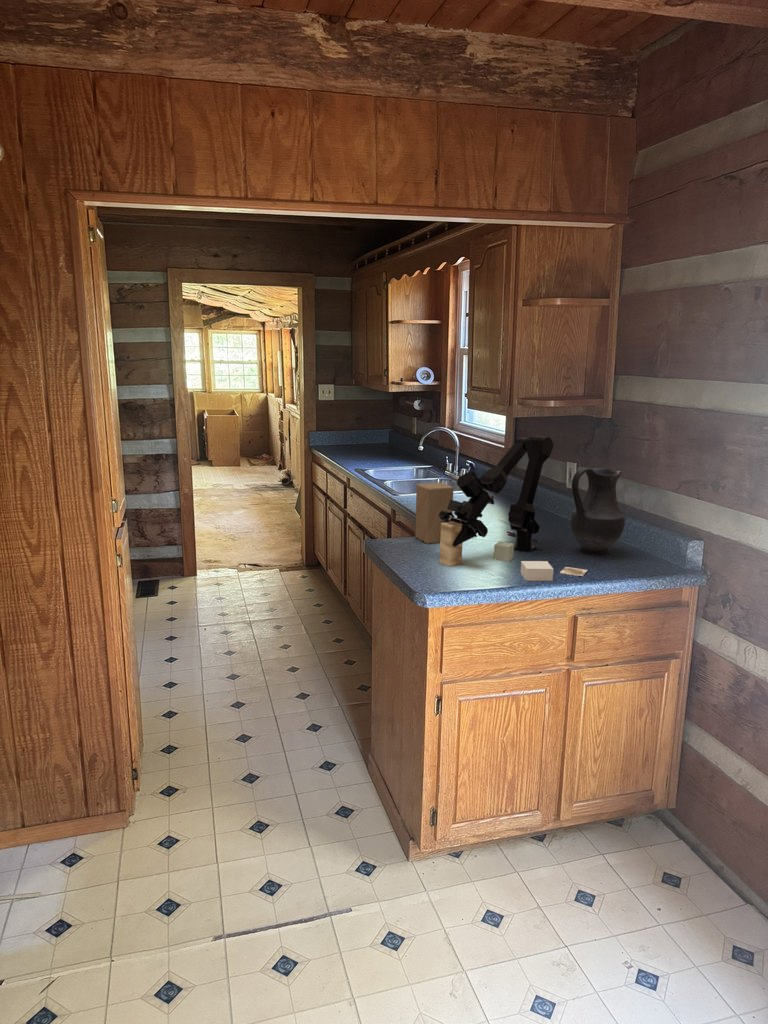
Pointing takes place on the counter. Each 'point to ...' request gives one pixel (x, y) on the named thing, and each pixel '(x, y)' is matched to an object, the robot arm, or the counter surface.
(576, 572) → the tile
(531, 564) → the cream base block
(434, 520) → the wooden block
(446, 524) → the maple block
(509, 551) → the sage cube
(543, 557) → the counter surface
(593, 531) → the pitcher
